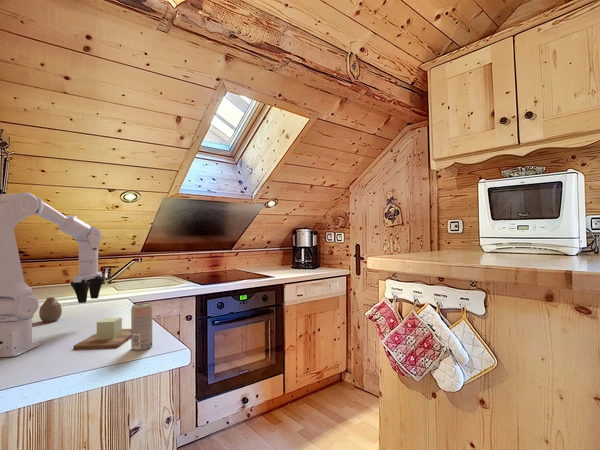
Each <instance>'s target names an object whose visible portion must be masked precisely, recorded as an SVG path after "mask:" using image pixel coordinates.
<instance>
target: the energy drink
mask: <svg viewBox="0 0 600 450" xmlns="http://www.w3.org/2000/svg"><path fill="white" fill-rule="evenodd" d="M130 312H131V315H130V317H131V320H130V321H131V323H130V325H131V327H130V329H131V341H130V342H131V347H130V348H131V350H132V351H134V350H135V352H140V351H139V350H141V351H146V350H149V349H151V348H152V347H153V306H152V303H150V302H149V303H148V302H143V303H136V304H132V305H131V311H130ZM150 347H151V348H150ZM148 348H149V349H148ZM145 349H146V350H145Z"/></svg>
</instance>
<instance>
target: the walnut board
mask: <svg viewBox="0 0 600 450" xmlns="http://www.w3.org/2000/svg"><path fill="white" fill-rule="evenodd" d="M130 339H131V328H122V334H121V335H119V336H117V337H116V338H114V339H97V332H96V333H94V334H92V335H90V336H88V337H87V338H85V339H83V340H81V341H80V342H78V343H76V344H74V345H73V348H72V349H73V350H92V349H95V348H97V349H116V348H117V349H118V348H120V347H121V346H122V345H123V344H125V343H127V342H128V341H129V340H130ZM95 350H96V349H95Z"/></svg>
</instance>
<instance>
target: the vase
mask: <svg viewBox="0 0 600 450" xmlns="http://www.w3.org/2000/svg"><path fill="white" fill-rule="evenodd" d="M62 311H63V309H62V305H61V303H60V302H58V300H57V299H56V297H51V296H50V297H46V299H45V301H44V302H43V303H42V304H41V305H40V307H39V311H38V316H39V319H40V321H42V322H43V323H53V322H57V321H58V320H59V319H60V318H61V316H62Z"/></svg>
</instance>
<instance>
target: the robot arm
mask: <svg viewBox="0 0 600 450" xmlns="http://www.w3.org/2000/svg"><path fill="white" fill-rule="evenodd" d="M33 215H35V216H38V217H40V218H43V220H44V219H45V220H47V221H49V222H51V223H53V224H56V225H57V226H58V230H59V231H60V232H63V233H64V234H66V235H68V236H71V237H72V238H74V240H75V242H76V243H78V274H76V275H75V276H73V277H72V279H73V281H72V282H70V286H71V287H72V289H73V290H74V292H75V295H76V299H77V302H78V304H86V303H87V301H88V300H87V299H88V291H89V297H90V300H92V299H98V298H99V295H100V291H101V288H102V286H103V283H104V282H105V280H106V278H105V277H103V271H99V247H100V243H101V240H102V239H103V234H102V232H101V230H100V229H99V228H98V227H96V226H91V225H89V223H88V222H83V221H82V220H81V219H78V218H79V217H78V216H77V215H71V214H70V215H65V214H63V213H61V212H60V211H58V210H56V209H55V208H54V207H52V206H50V205H49V204H47V203H46V202H45V201H43V200H42V198H41V197H39V196H35V194H33V193H31V192H28V191H26V192H24V191H23V192H19V193H0V358H9V357H11V358H12V357H13V358H14V357H17V356H19V355H21V354H24V353H26V352H28V351H30V350H32V349H34V348H36V347H37V348H38V346H40V345H41V344H40V343H39V342H38V343H33V318H34V315H35V313H36V312H37V311H38V309H39V308H40V307H39V305H40V304H39V299H38V297H36V295H35V294H34V291H33V288H32V287H31V286H29V285H28V284H27V283H26V282H25V277H24V274H23V272H24V271H23V269H22V268H23V267H22V263H21V259H20V254H19V248H18V244H17V239H16V233H15V230H14V229H15V227H16V226H17V225H18V224H19V223H20V222H21V221H23V220H25V219H27V218H28V217H29V216H33Z"/></svg>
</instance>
